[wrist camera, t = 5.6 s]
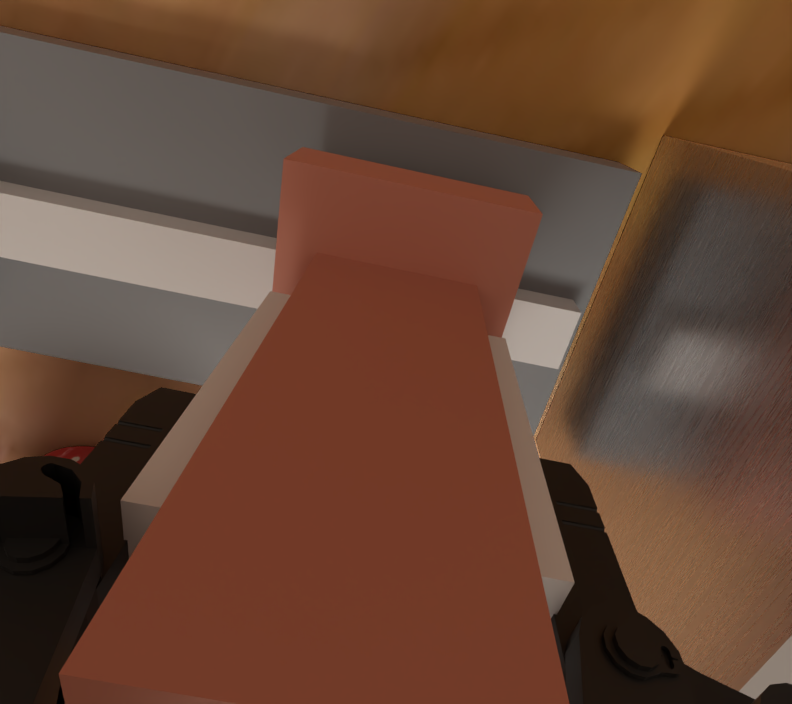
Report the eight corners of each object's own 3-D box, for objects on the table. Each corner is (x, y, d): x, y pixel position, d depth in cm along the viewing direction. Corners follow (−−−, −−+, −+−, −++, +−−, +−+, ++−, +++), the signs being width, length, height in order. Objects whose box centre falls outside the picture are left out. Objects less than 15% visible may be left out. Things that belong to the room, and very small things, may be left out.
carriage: (277, 398, 17) (36, 919, 7) (302, 147, 13) (-171, 436, 3) (453, 433, 17) (490, 987, 7) (528, 195, 14) (867, 627, 3)
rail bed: (-6, 313, 20) (-99, 365, 16) (-67, 10, 15) (-216, -8, 12) (519, 417, 21) (538, 486, 17) (618, 162, 16) (671, 187, 13)
